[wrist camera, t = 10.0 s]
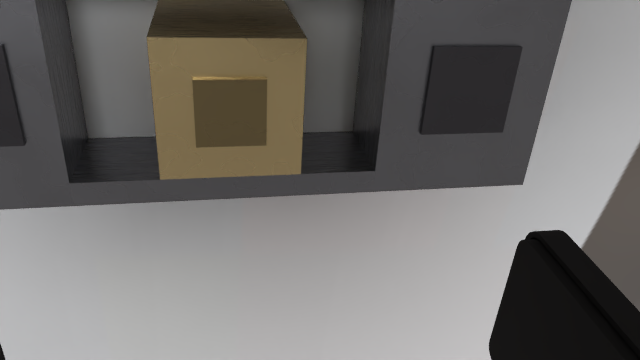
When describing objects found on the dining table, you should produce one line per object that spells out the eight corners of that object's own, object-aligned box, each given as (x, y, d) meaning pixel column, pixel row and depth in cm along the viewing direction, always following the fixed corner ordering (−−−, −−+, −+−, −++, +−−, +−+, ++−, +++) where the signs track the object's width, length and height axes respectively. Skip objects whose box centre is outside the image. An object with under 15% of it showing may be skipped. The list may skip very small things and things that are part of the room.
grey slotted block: (524, -42, 24) (581, -26, 20) (483, 146, 28) (524, 186, 25) (-128, -65, 19) (-203, -49, 16) (-58, 164, 24) (-104, 217, 20)
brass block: (283, 0, 23) (308, 40, 18) (280, 112, 26) (301, 176, 20) (158, -3, 22) (146, 39, 17) (168, 114, 25) (159, 182, 19)
